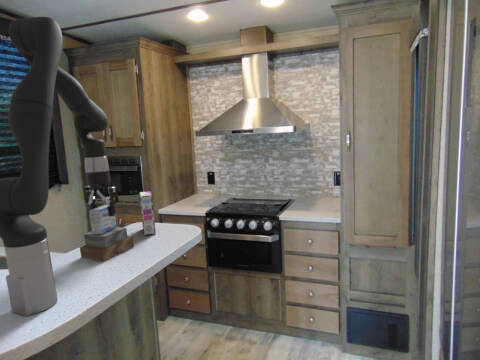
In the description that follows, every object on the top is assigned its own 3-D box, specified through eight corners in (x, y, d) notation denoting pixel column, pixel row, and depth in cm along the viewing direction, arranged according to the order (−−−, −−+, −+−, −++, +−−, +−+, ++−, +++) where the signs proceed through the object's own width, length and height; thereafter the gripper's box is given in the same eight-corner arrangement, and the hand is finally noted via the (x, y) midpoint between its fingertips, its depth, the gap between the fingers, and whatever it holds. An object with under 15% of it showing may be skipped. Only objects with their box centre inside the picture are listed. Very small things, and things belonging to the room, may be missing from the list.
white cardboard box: (156, 234, 140) (152, 195, 138) (143, 236, 139) (139, 196, 136) (154, 226, 151) (150, 190, 148) (143, 228, 149) (138, 191, 147)
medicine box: (102, 234, 117) (99, 210, 116) (91, 234, 118) (88, 210, 117) (116, 227, 125) (113, 204, 123) (106, 227, 126) (103, 204, 124)
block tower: (103, 261, 114) (100, 238, 113) (81, 257, 119) (78, 235, 118) (133, 247, 126) (131, 226, 125) (112, 244, 131) (109, 224, 130)
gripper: (73, 171, 118) (80, 216, 120) (103, 171, 111) (109, 219, 114) (92, 168, 125) (97, 211, 127) (120, 168, 118) (126, 213, 121)
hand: (103, 215), depth 121 cm, fingers open, 8 cm apart
